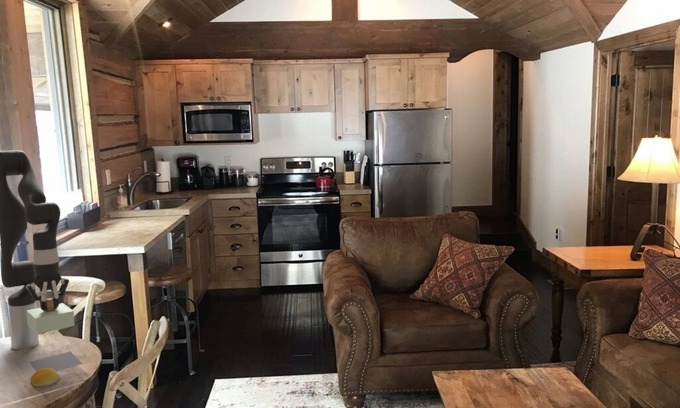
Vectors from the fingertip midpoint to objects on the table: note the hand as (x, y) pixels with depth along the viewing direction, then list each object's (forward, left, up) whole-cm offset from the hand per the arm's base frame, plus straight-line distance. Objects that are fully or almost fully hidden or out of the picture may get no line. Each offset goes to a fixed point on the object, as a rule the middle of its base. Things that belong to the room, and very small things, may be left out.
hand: (49, 309), depth 189 cm
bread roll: (+8, -5, -22) cm, 24 cm away
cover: (0, 0, -6) cm, 6 cm away
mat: (-4, +2, -22) cm, 22 cm away
